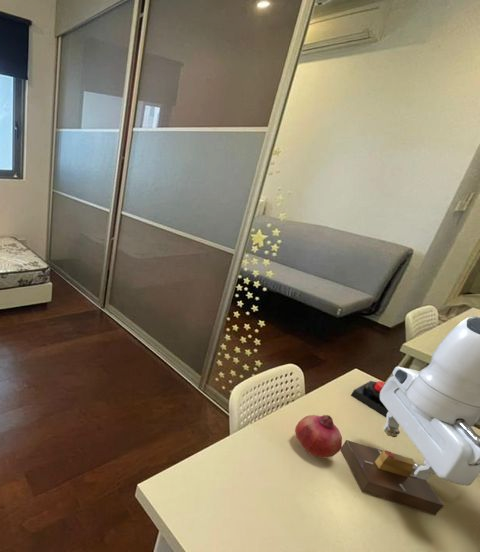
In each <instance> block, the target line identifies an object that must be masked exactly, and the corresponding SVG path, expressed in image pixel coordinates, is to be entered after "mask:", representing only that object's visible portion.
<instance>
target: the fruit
mask: <svg viewBox="0 0 480 552" xmlns="http://www.w3.org/2000/svg"><path fill="white" fill-rule="evenodd" d="M294 434H295V437H296V439H297V441H298V442H299V444H300V445H301V446H302V448H303V449H304V450H305V451H306V452H307V453H309V455H311V456H315V457H318V458H322V459H324V458H331V457H334V456H335V455H337V454H338V453H339V452H340V451H341V447H342V446H343V436H342V434H341V432H340V429H339V428H338V427H337V426H336V425H335V424H334V421H333V418H332V416H331V415H328V414H323V415H316V414H310V415H306V416H304V417H302V419H300V421H298V423H297V424H296V426H295V428H294Z"/></svg>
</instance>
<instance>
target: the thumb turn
mask: <svg viewBox="0 0 480 552" xmlns="http://www.w3.org/2000/svg"><path fill="white" fill-rule="evenodd" d="M382 450H383V451H382V453H381V454H380V455H379V457H378V458H377V460H376V461H375V463H376V465H377V466H378V468H379V469H382V470H385V471H388V472H392V473H395V474H398V475H402V476H405V477H409V476H410V474H411V473H412V470H411V467H413V465H414V464H417V463H416V461H415V460H414V459H413V458H410V457H408V456H404V455H401V454H397V453H395V452H394V453H393V452H391V451H388V450H384V449H382Z"/></svg>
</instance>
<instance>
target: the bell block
mask: <svg viewBox="0 0 480 552" xmlns="http://www.w3.org/2000/svg"><path fill="white" fill-rule="evenodd" d="M377 382H378V381H372V380H369V381H368V382H366V383H364V384H362V385H360V386H358V387H356V388H354V389H353V391H352V392H351V394H350V396H351V397H352V398H354V399H355V400H356V401H359V402H360V403H362V404H363V405H365V406H367V407H368V408H370V409H371V410H373V411H375V412H376V413H378V414H379V415H381V416H382V417H384V418H386V417H387V413H388V410H387V408H386V407H385V406H384V404H383V403H382V402H381V400H380V392H378V391H377V390H376V389H375V388H374V386H375V384H376V383H377Z"/></svg>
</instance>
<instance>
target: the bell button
mask: <svg viewBox="0 0 480 552" xmlns="http://www.w3.org/2000/svg"><path fill="white" fill-rule="evenodd" d="M376 382H377V383H376V384H375V386H374V388H375V389H376V390H377V391H378V392H380V391H381V390H382V388H383V386H384V385H385V383H386V382H384V381H380V380H379V381H376Z"/></svg>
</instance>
